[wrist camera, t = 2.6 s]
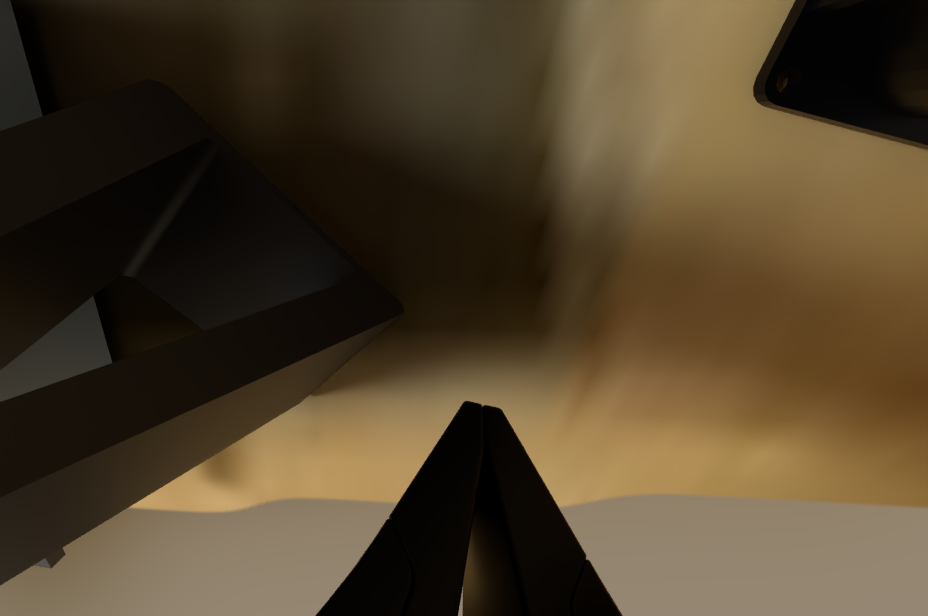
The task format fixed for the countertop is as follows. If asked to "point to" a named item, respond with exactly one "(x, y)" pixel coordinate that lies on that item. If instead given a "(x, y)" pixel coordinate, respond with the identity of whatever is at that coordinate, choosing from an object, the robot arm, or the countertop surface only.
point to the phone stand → (177, 283)
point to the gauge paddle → (81, 334)
